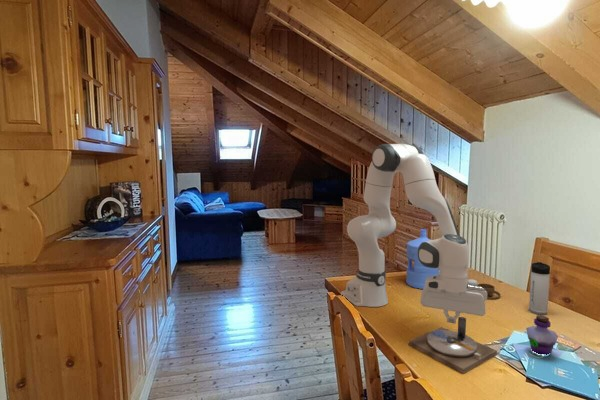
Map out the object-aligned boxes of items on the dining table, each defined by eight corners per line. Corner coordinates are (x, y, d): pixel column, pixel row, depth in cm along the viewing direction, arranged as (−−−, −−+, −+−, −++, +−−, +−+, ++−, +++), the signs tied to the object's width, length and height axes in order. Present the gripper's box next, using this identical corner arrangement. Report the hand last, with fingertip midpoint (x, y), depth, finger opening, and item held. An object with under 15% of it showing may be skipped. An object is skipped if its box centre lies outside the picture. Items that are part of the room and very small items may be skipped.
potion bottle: (521, 352, 115) (523, 316, 113) (528, 342, 121) (530, 308, 119) (553, 363, 108) (556, 325, 107) (559, 352, 114) (561, 316, 113)
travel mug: (545, 310, 147) (548, 262, 144) (548, 316, 141) (551, 267, 138) (527, 307, 149) (530, 261, 147) (530, 313, 143) (532, 265, 141)
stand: (408, 345, 120) (408, 337, 120) (441, 330, 130) (441, 323, 130) (463, 373, 104) (463, 365, 103) (496, 355, 113) (497, 347, 113)
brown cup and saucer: (508, 304, 155) (509, 291, 154) (460, 303, 157) (460, 290, 156) (491, 289, 172) (491, 278, 171) (448, 288, 174) (448, 277, 173)
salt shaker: (480, 314, 143) (481, 283, 142) (465, 313, 145) (466, 282, 143) (476, 308, 149) (477, 278, 148) (461, 307, 150) (462, 277, 149)
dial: (417, 342, 118) (418, 321, 118) (443, 329, 127) (444, 310, 126) (460, 362, 106) (461, 339, 105) (486, 347, 115) (487, 325, 114)
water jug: (441, 282, 182) (443, 228, 179) (435, 292, 168) (436, 233, 165) (410, 277, 190) (411, 225, 187) (402, 286, 177) (403, 230, 174)
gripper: (487, 284, 118) (485, 324, 120) (423, 276, 127) (421, 313, 129) (487, 291, 112) (485, 332, 114) (420, 281, 122) (419, 320, 123)
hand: (451, 322), depth 122 cm, fingers closed
